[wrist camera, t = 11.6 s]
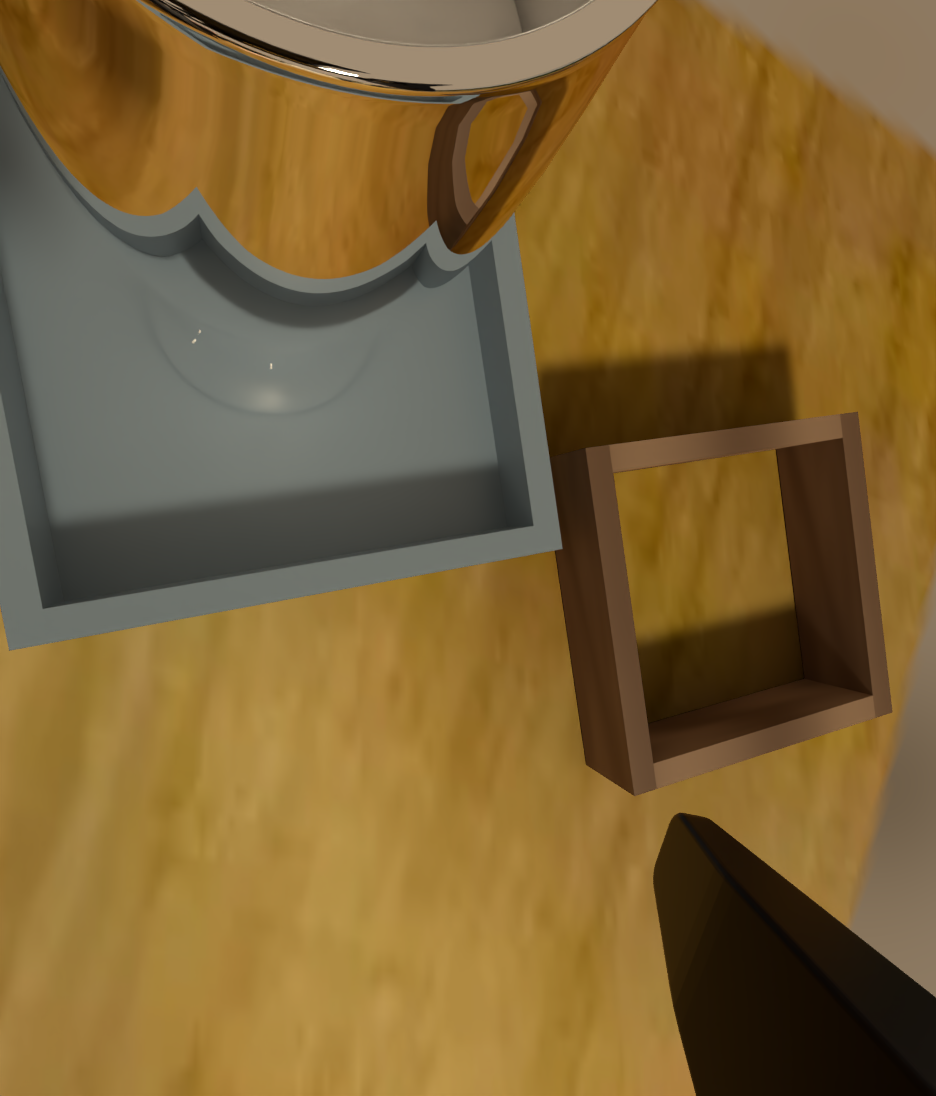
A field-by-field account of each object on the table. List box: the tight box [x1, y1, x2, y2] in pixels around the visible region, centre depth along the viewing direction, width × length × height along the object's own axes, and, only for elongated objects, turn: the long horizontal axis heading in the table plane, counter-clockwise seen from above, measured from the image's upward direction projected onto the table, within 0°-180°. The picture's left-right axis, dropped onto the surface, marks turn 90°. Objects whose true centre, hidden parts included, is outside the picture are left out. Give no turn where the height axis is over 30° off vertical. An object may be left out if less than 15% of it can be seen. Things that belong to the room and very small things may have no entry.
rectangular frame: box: [550, 412, 892, 796], centre depth 23 cm, size 11×11×3 cm
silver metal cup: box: [0, 0, 658, 415], centre depth 12 cm, size 7×7×15 cm
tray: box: [0, 75, 563, 651], centre depth 18 cm, size 14×16×3 cm
